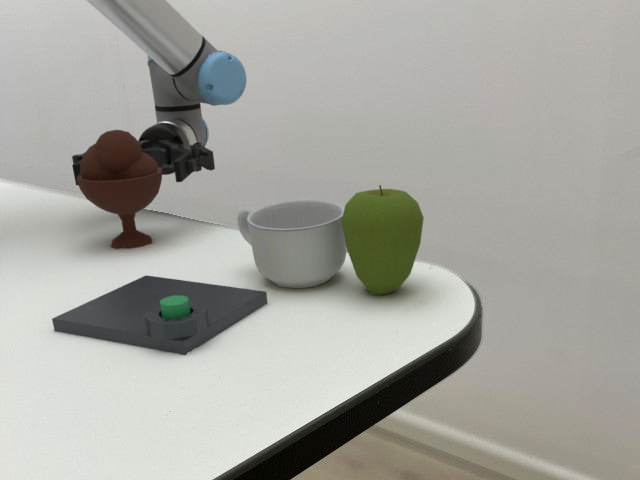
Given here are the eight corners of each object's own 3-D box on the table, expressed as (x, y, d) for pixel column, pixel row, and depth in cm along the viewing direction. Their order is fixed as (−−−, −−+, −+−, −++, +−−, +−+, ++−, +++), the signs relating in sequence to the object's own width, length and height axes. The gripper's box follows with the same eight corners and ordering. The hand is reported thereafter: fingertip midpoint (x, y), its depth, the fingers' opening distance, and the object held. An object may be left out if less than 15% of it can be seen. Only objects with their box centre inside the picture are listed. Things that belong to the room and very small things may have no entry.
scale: (52, 332, 75) (46, 304, 74) (147, 286, 87) (143, 261, 86) (185, 357, 69) (181, 326, 67) (269, 304, 80) (267, 277, 79)
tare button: (156, 318, 70) (153, 303, 70) (174, 309, 72) (171, 293, 72) (179, 322, 69) (176, 306, 69) (196, 312, 71) (194, 297, 71)
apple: (397, 311, 77) (396, 197, 72) (328, 298, 81) (322, 189, 76) (437, 285, 84) (438, 179, 79) (371, 274, 88) (368, 173, 83)
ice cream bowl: (188, 235, 106) (173, 123, 100) (135, 259, 97) (115, 137, 91) (128, 229, 110) (110, 121, 104) (72, 251, 101) (48, 134, 95)
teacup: (368, 277, 87) (365, 208, 83) (294, 303, 80) (288, 229, 77) (290, 254, 96) (284, 191, 93) (218, 276, 89) (209, 208, 86)
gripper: (247, 168, 122) (222, 198, 103) (94, 173, 123) (41, 204, 104) (243, 119, 119) (216, 141, 100) (85, 124, 120) (29, 147, 101)
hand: (126, 173), depth 102 cm, fingers open, 13 cm apart
